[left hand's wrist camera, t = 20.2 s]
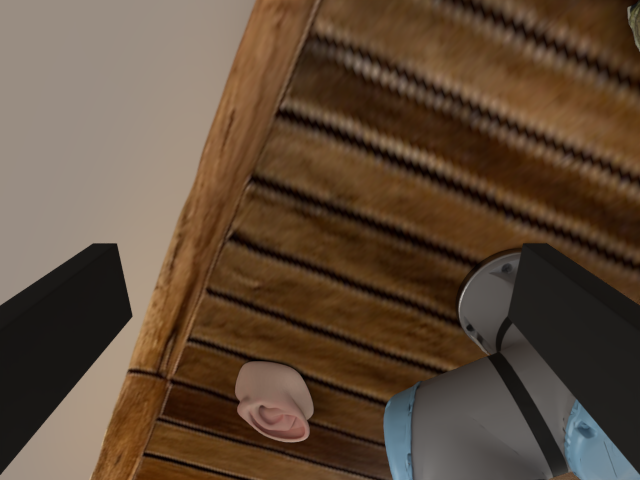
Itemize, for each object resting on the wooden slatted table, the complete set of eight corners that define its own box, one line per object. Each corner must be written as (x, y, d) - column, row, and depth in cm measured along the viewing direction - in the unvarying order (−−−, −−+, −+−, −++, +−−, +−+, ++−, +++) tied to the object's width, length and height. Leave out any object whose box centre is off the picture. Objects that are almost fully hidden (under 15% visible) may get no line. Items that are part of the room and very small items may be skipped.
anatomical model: (221, 382, 52) (303, 374, 51) (227, 363, 56) (304, 355, 55) (241, 451, 57) (316, 444, 56) (245, 429, 60) (316, 422, 60)
